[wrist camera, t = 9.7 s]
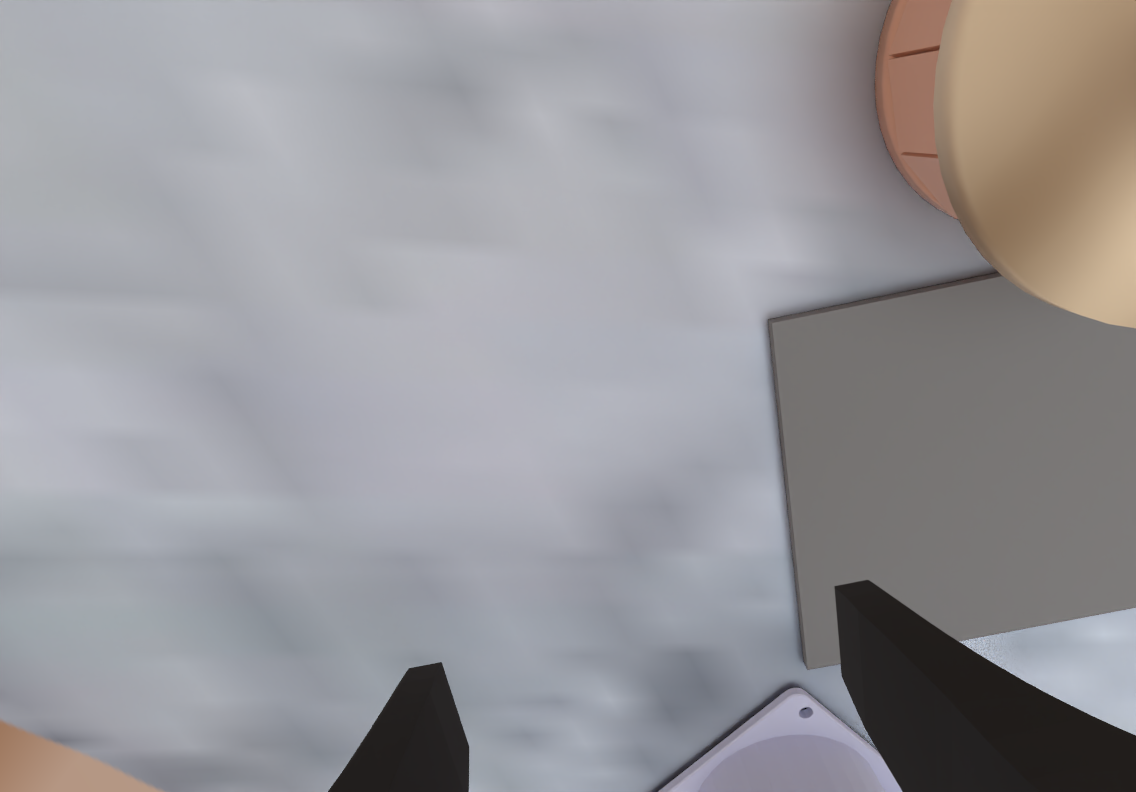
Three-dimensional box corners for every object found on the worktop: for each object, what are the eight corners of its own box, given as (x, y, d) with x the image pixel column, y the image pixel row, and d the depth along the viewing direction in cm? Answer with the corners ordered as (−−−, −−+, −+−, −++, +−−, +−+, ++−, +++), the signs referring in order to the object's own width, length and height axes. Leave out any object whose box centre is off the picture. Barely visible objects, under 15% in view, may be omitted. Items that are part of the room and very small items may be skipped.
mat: (1248, 577, 26) (1259, 583, 25) (803, 662, 26) (807, 670, 26) (1307, 209, 21) (1321, 211, 21) (768, 319, 22) (772, 323, 21)
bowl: (1270, 51, 20) (1498, 29, 15) (997, 290, 22) (1124, 336, 17) (1095, -237, 17) (1304, -372, 13) (806, 62, 19) (894, 42, 15)
